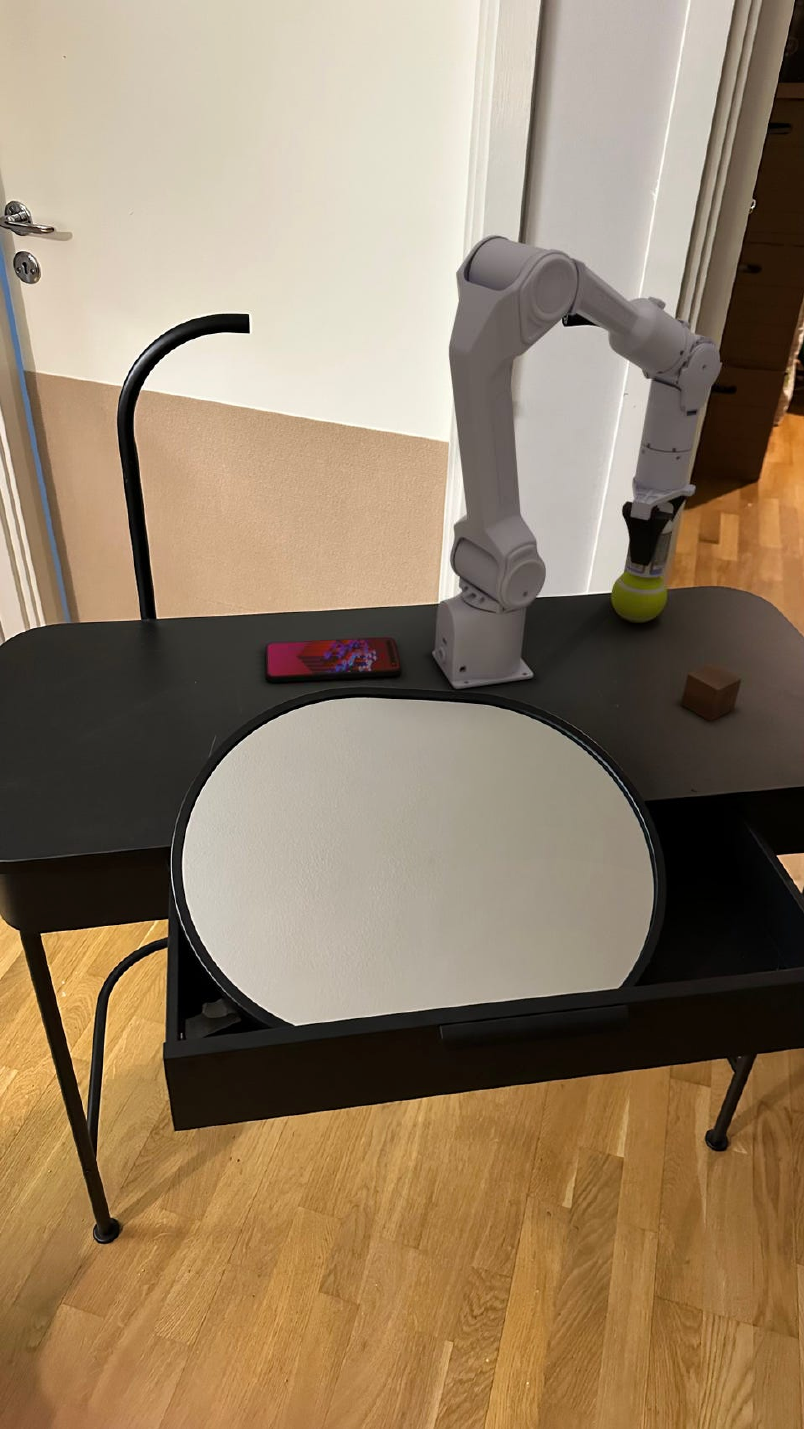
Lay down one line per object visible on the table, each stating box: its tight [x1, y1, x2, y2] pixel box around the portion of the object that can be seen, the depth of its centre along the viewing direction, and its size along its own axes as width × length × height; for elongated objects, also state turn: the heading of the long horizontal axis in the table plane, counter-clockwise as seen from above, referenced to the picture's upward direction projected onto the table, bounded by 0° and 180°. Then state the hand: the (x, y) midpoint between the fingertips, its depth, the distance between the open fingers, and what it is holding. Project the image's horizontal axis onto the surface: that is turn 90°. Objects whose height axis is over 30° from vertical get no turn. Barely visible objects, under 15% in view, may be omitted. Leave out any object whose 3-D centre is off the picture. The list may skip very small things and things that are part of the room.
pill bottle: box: [625, 501, 674, 578], centre depth 116 cm, size 5×5×8 cm
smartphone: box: [265, 636, 402, 683], centre depth 111 cm, size 8×1×15 cm
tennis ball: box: [610, 570, 668, 624], centre depth 121 cm, size 7×7×7 cm
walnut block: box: [680, 662, 742, 722], centre depth 105 cm, size 4×4×4 cm
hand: (646, 555), depth 118 cm, fingers closed on pill bottle, 5 cm apart
